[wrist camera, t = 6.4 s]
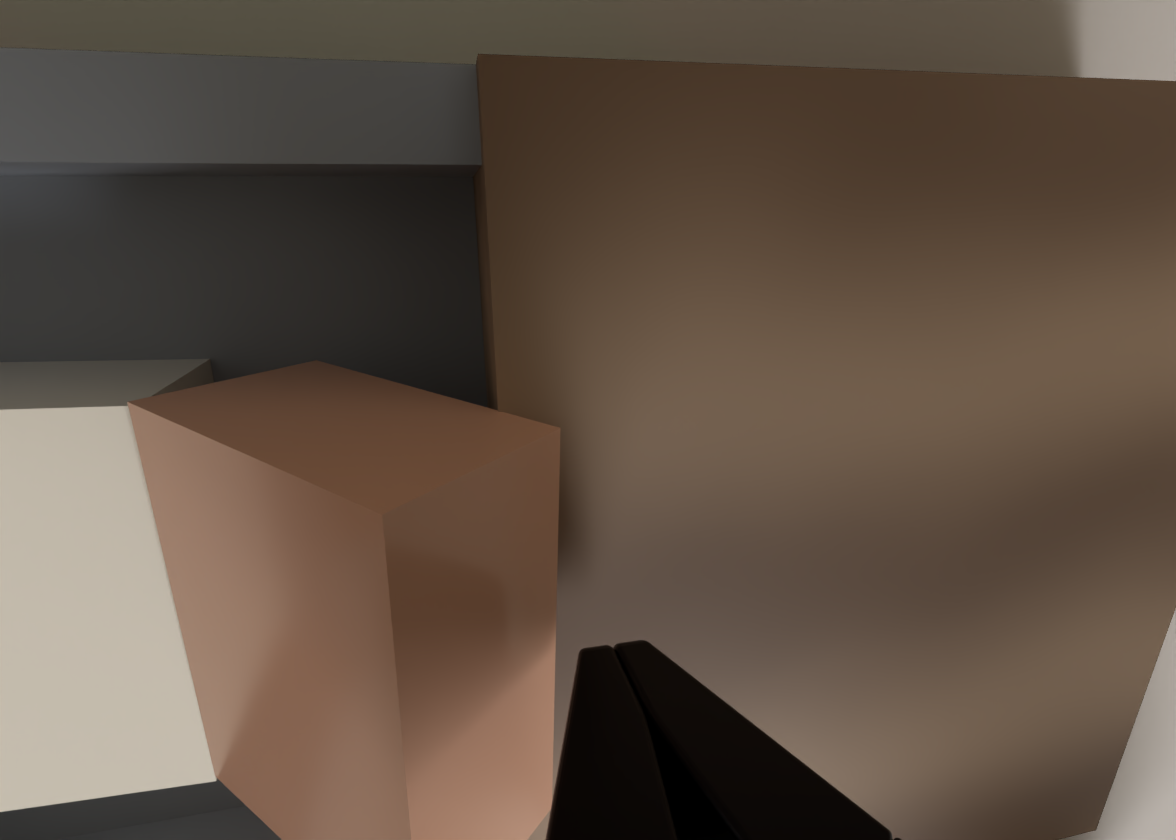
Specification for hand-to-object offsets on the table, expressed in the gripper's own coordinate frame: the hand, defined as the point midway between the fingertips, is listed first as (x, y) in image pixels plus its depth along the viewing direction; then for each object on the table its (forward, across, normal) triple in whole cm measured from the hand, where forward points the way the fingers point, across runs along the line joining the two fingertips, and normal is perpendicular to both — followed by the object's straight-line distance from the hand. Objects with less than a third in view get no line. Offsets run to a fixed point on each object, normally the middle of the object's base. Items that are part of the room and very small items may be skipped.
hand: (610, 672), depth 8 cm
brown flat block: (+5, -5, 0) cm, 7 cm away
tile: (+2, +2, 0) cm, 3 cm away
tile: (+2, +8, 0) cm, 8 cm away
